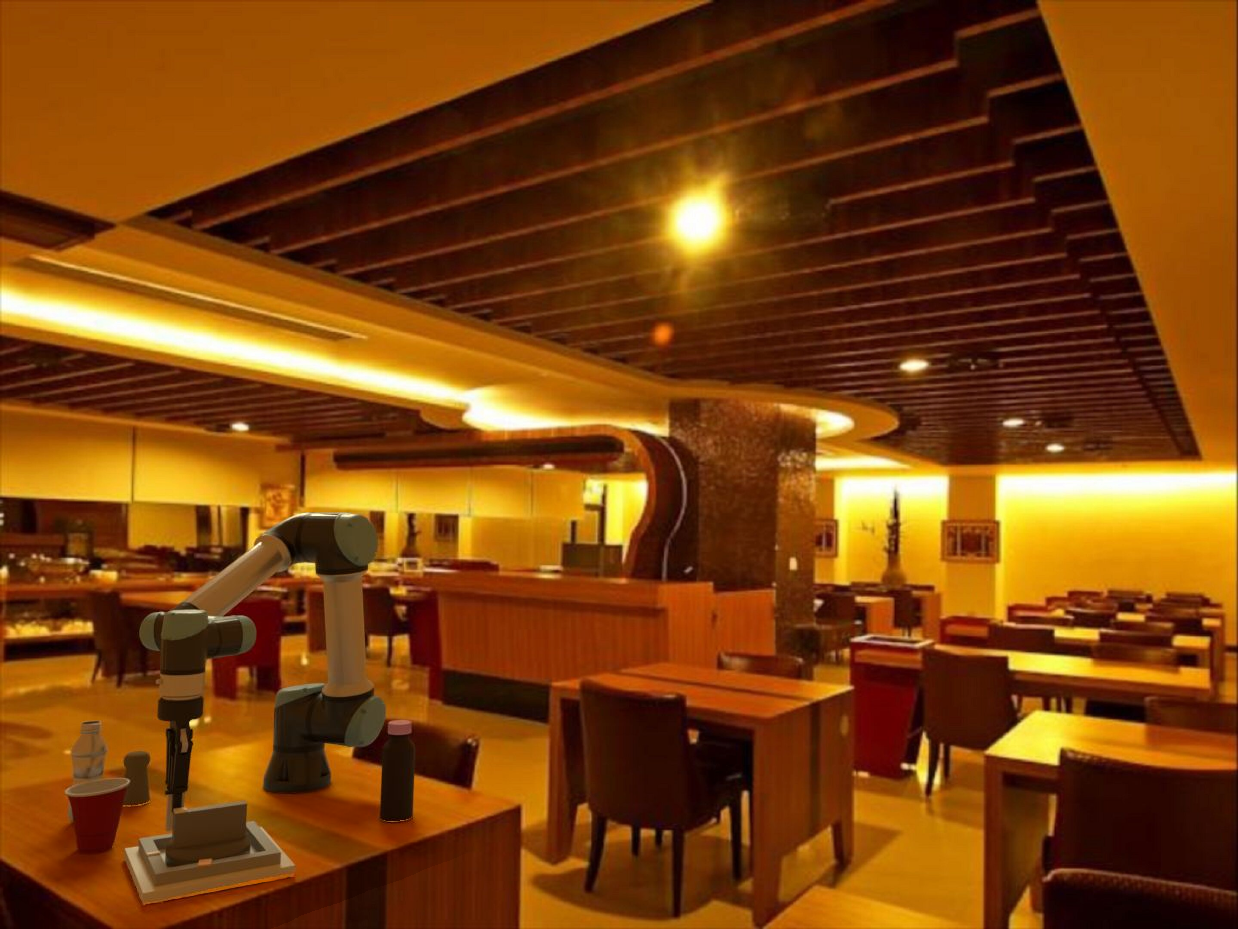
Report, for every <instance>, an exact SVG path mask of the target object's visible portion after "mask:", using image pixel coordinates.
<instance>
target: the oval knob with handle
mask: <svg viewBox="0 0 1238 929" xmlns="http://www.w3.org/2000/svg"><path fill="white" fill-rule="evenodd" d="M247 811H248V803H247V801H245V800H240V801H235V802H233V801H232V802H228V803H227V802H226V803H220V804H218V803H217V804H214V805H206V806H205V805H204V806H199V807H191V808H187V807H186V806H184V807H182V808H175V809H174V810H173V827H172V831H171V834H172V840H170V841H169V842H168V843H167V844H166V852H165V862H166V864H168V865H169V866H171V867H176V866H182V865H187V864H193V863H199V860H201V859H212V860H216V859H222V858H228V857H234V856H240V855H245V854H249V853H250V848H251V836H250V834H249V833H247V832H246V822H247V815H248V812H247Z"/></svg>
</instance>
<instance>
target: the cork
mask: <svg viewBox="0 0 1238 929" xmlns="http://www.w3.org/2000/svg"><path fill="white" fill-rule="evenodd" d="M150 762H151V754H150V753H149V752H148V751H145V750H134V751H130V752H128V753H126V755H125V756H124V758H123V766H124V768H125V773H124V777H123V778H126V779H129V780H130V784H129V785H128V787H127V791H126V794H125V799H124V802H123V805H131V806H132V805H138V804H143V803H146V802H148V801H149V800H150V801H151V799H150V784H149V774H148V766H149V764H150Z"/></svg>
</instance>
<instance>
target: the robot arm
mask: <svg viewBox="0 0 1238 929" xmlns="http://www.w3.org/2000/svg"><path fill="white" fill-rule="evenodd" d="M375 528H376V527H375V526H374V524H373V523H372V522H371V520H369V518H368V517H366V516H365V515H363V514H361V513H360V514H359V513H352V512H351V513H350V512H314V511H312V512H311V511H309V512H302V513H297V514H295V515H293V516H290V517H288V518H285V519H284V520H281V521H280V522H278V523H276V524H275V525H273V526H271V527H270V528H268V529H267V530H266V531H264V532H263V533H261V535H259V536H258V537H257V538H255V539H254V543H253V546H252V547H251V548H250V549H248V550H247V551H246V552H244V553H243V554H242V555H240V556H239V557H238V558H236V559H235V560H234V561H233V562H231V563H230V564H229V565H227V566H226V567H225V568H224V569H222V570H221V571H220V572H218V573H217V574H216V575H215V576H213V577H212V578H211V579H209V580H208V581H207V582H206V583H204V584H203V585H202V586H200V587H199V588H198V589H197V590H195V591H194V592H193V593H191V594H190V595H189V596H187V597H186V598H185V599H184V600H182V601H181V602H180V603H179V604H177V605H175V606H174V607H173V608H172V609H170V610H169V611H159V612H151V613H150V614H148V615H147V616H146V617H145V618H144V619H143V620H142V622H141V624H140V626H139V634H138V635H139V640H140V642H141V643H142V645H143V646H144V648H146V649H148V650H151V651H155V652H156V651H158V652H160V666H159V667H160V668H159V670H160V671H159V678H158V679H156V680H155V684H156V685H158V695H159V696H160V697H159V699H158V701H157V716H156V717H157V719H158V720H159V721H162V722H169V727H168V728H165V737H166V738H165V739H166V748H165V751H166V752H165V754H166V755H165V757H166V758H165V759H166V760H165V780H164V782H165V785H166V789H167V790H165V791H164V795H165V796H166V807H165V808H166V809H165V810H166V811H165V824H164V826H165V827H164V828H165V831H166V832H170V831H171V832H172V827H173V810H174V809H175V808H182V807H185V800H186V799H185V797H186V792H188V790H189V777H190V769H191V768H190V766H191V759H192V758H191V757H192V756H191V755H192V750H193V746H194V741H193V740H192V739H193V736H194V730H193V728H191V726H190V722H191V721H192V720H197V719H199V718H201V717H202V716H203V714H204V702H205V701H204V699H205V698H204V697H203V696H202V694H204V693H205V686H206V667H207V666H206V664H207V660H209V659H211V660H212V659H216V658H223V657H231V656H237V655H240V654H244V653H246V652H248V651H250V650H251V649H252V648H253V647H254V645H255V643H256V640H257V628H256V625H255V623H254V621H253V620H252V619H251V618H250V617H248V616H245V615H234V614H230V615H229V616H225V615H226V614H228V613H229V612H230V611H231V610H232V609H233V608H235V607H236V606H237V605H238V604H239V603H241V602H242V601H243V600H244V599H245V598H247V597H248V596H249V595H250V594H251V593H252V592H254V591H255V590H257V589H258V587H260V586H262V584H264V583H265V582H266V581H267V580H268V579H270V578H271V577H273V575H274V574H276V573H279V572H281V573H282V572H284V571H286V570H288V569H289V568H291V567H292V566H294V565H296V564H303V563H313V564H314V568H315V571H314V572H315V575H316V576H317V577H319V578H320V579H321V580H322V586H323V587H322V588H323V589H322V591H323V607H324V608H323V609H324V625H325V626H324V627H325V647H326V660H327V661H326V663H327V664H326V665H327V682H326V683H321V682H320V683H319V682H317V683H316V682H315V683H305V684H300V685H299V684H298V685H293V686H287V687H284V688H281V689H279V690H278V691H277V693H276V695H275V699H274V701H275V702H274V706H273V710H274V711H273V734H272V735H273V739H272V743H273V744H272V754H271V757H270V759H269V762H268V765H267V767H266V770H265V773H264V775H263V782H262V783H263V785H262V787H263V789H264V790H265V791H268V792H271V793H277V794H301V793H310V792H314V791H318V790H322V789H325V788H326V787H328V786H330V785H331V784H332V783H331V782H332V772H331V768H330V763H329V761H328V757H327V754H326V749H325V746H326V745H325V744H329V745H335V746H344V747H346V748H347V747H348V748H353V747H357V748H364V747H367V746H369V745H371V744H373V742H374V741H375V740H376V739H377V737H378V736H379V734H380V733H381V730H382V729H383V726H384V723H385V720H386V716H387V715H386V712H387V706H386V703H385V700H384V699H383V698H382V697H380V696H378V695H375V684H374V683H373V681H371V680H370V679H368V677H367V658H366V654H367V653H366V638H365V635H366V634H365V618H364V617H365V616H364V596H363V594H364V593H363V576H364V575H366V573H367V572H368V571H369V564H371V563H372V562H373V561H374V560H375V557H376V556H377V554H376V552H378V548H379V540H378V534H377V531H376V529H375Z"/></svg>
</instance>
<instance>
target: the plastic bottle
mask: <svg viewBox="0 0 1238 929" xmlns="http://www.w3.org/2000/svg"><path fill="white" fill-rule="evenodd" d="M101 731H103V730H102V721H100V720H88V721H82V722H81V724H80V729H79V734H80V736H79V737H78V739H77V740H76V741H74V744H73V745H72V747H71V749H70V751H71V752H70V753H71V763H72V786H75V785H78V784H81V783H85V782H89V781H94V780H100V779H104V769H105V763H106V758H107V754H108V753H107V752H108V744H107V741H106V740H105V738H104V737H103V736H102V734H101ZM67 814H68V819H69V821H70V822H71V823H73V816H72V809H71V806H70V802H69V804H68V808H67Z"/></svg>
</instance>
